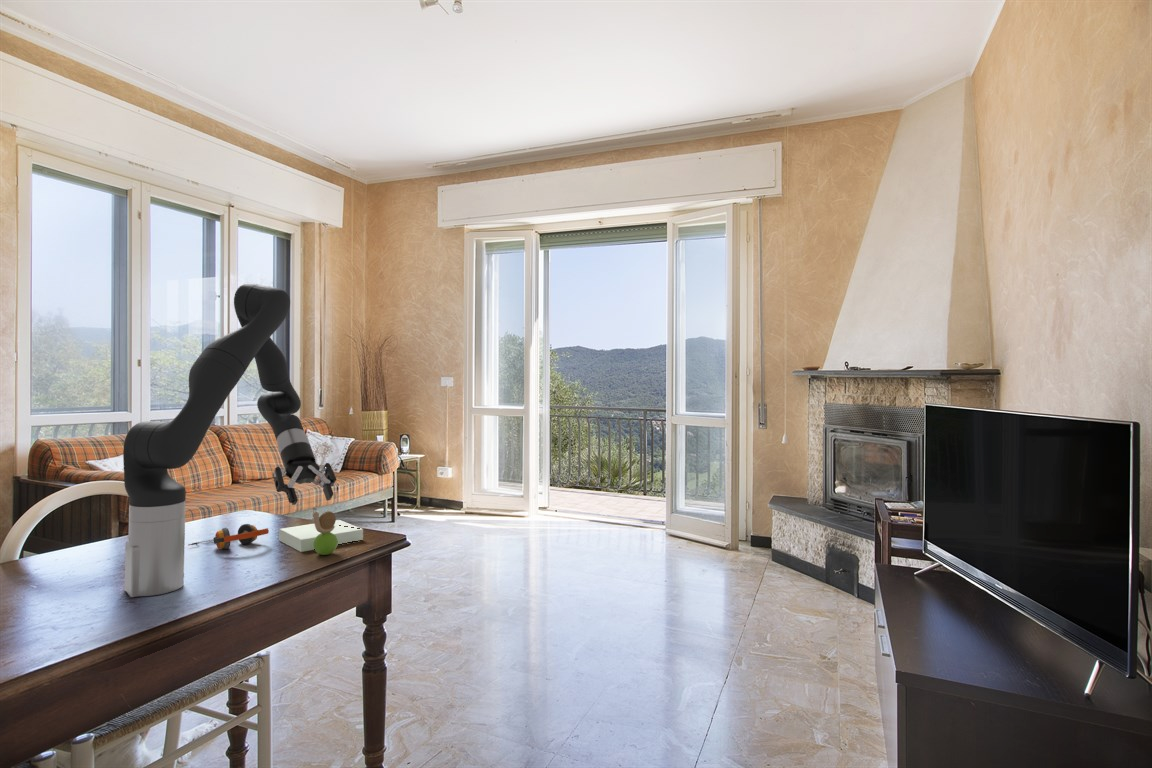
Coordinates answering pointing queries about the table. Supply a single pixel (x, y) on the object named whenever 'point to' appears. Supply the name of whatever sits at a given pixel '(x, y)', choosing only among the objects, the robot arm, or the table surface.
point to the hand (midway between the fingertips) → (312, 500)
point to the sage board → (306, 535)
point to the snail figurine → (325, 533)
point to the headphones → (236, 536)
